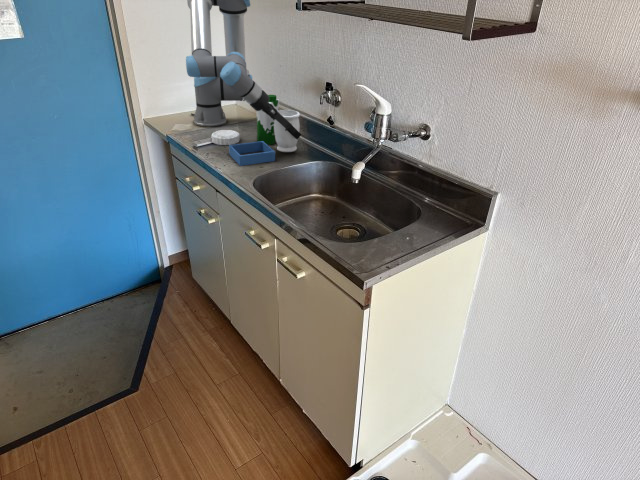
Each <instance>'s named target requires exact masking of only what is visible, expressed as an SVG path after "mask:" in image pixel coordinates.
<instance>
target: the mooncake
mask: <svg viewBox="0 0 640 480" xmlns="http://www.w3.org/2000/svg"><path fill="white" fill-rule="evenodd" d="M210 135H211V142H212V143H213V144H214V145H217V146H229V145H234V144H239V142H240V140H241V139H240V136H241V135H240V133H239V132H238V131H237V130H233V129H219V130H216V131H213V132H212V134H210Z"/></svg>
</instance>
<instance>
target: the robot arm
mask: <svg viewBox="0 0 640 480" xmlns="http://www.w3.org/2000/svg"><path fill="white" fill-rule="evenodd" d="M187 7H188V9H190V11H189V12H190V13H189V14H190V43H191V45H190V46H191V47H190V48H191V54H190V55H187V56H186V57H185V67H186V74H187V76H188V77H190V78H193V87H194V94H195V95H194V96H195V104H196V107H195V112H194V113H190V115H191V116H193V123H194V125H196V126H198V127H203V128H214V127H216V128H217V127H220V126H224V125H225V124H227V117H226V114H225V112H224V110H223V107H222V102H224V101H225V102H235V101H237V102H238V101H239V102H246V103H247V104H249V106H250V107H251V108H252V109H253V110H254V111H255V112H256V111H260V110H262V111H263V112H264V113H266V114H267V115H269V116H270V118H272V119H273V120H275V119H276V120H277V121H278V122H279V123H280V124H281V125H282V126H284V127H285V128H286V129H285V131H288V132H289V133H290V134H291V135H292V136H294V137H295V138H296V139H298V140H299V139H300V137H301V136H302V133H301V132H300V131H299V132H298V131H297V130H296V129H295V128H294V127H293V126H292V124H291V123H289V122H288V121H287V120H286V119H285V118H284V117H283V116H282V115H281V114H280V113H278V111H279V110H278V111H277V110H276V109H275V108H274V107H273V105H271V104H270V103H269V102H268V101H269V96H268V95H269V94H268V93H266V91H265V90H263V89H262V87H261V86H260V85H259V84H258V83H257V82H256V81H254V80H253V75H252V74H250V71H249V70H248V69H247V62H246V43H245V41H246V40H245V39H246V38H245V16H244V15H245V14H247V13H248V8H249V7H251V0H187ZM213 7H218V10H219V12H220V14H222V17H223V19H222V20H223V33H224V48H225V55H213V49H212V30H211V29H212V28H211V27H212V26H211V25H212V24H211V10H212V8H213Z"/></svg>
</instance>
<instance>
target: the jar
mask: <svg viewBox="0 0 640 480" xmlns="http://www.w3.org/2000/svg"><path fill="white" fill-rule="evenodd" d="M278 113H280V114H281V115H282V116H283V117H284V118H285V119H286V120H287V121H288V122H289V123H291V124H292V126H293V127H294V128H295V129H296V130H297V131H298V132H299V133H300V129H301V127H300V126H301V125H300V115H301V114H300V112H299V111H297V110H293V109H278ZM285 129H286V128H285V127H284V126H282V125H281V124H280V123H279V122H278V121H277V120H276V119H275V120H274V133H275V139H276V142H275V143H276V145H277V146H276V150H277V151H279V152H281V153H293V152H296V151H297V148H298V147H297V144H298V141H299V138H298V139H296V138H295V137H294V136H292V135H291V134H290V133H289V132H288V131H285Z"/></svg>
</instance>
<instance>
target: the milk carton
mask: <svg viewBox="0 0 640 480" xmlns="http://www.w3.org/2000/svg"><path fill="white" fill-rule="evenodd" d="M267 95H268V96H269V101H268V102H269V103H270V104H271V105H273V107H274V108H275V109H276V110H277V111H279V110H280V109H279V107H280V99H278V98H277V95H276V94H267ZM255 112H256V142H259V141H264V142H265V143H266V144H267V145H271V146H272V145H274V144H276V143H277V142H276V139H275V133H274V120H273V119H272V118H270V116H269V115H267V114H266V113H264V112H263V111H262V110H260V111H256V110H255Z"/></svg>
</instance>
